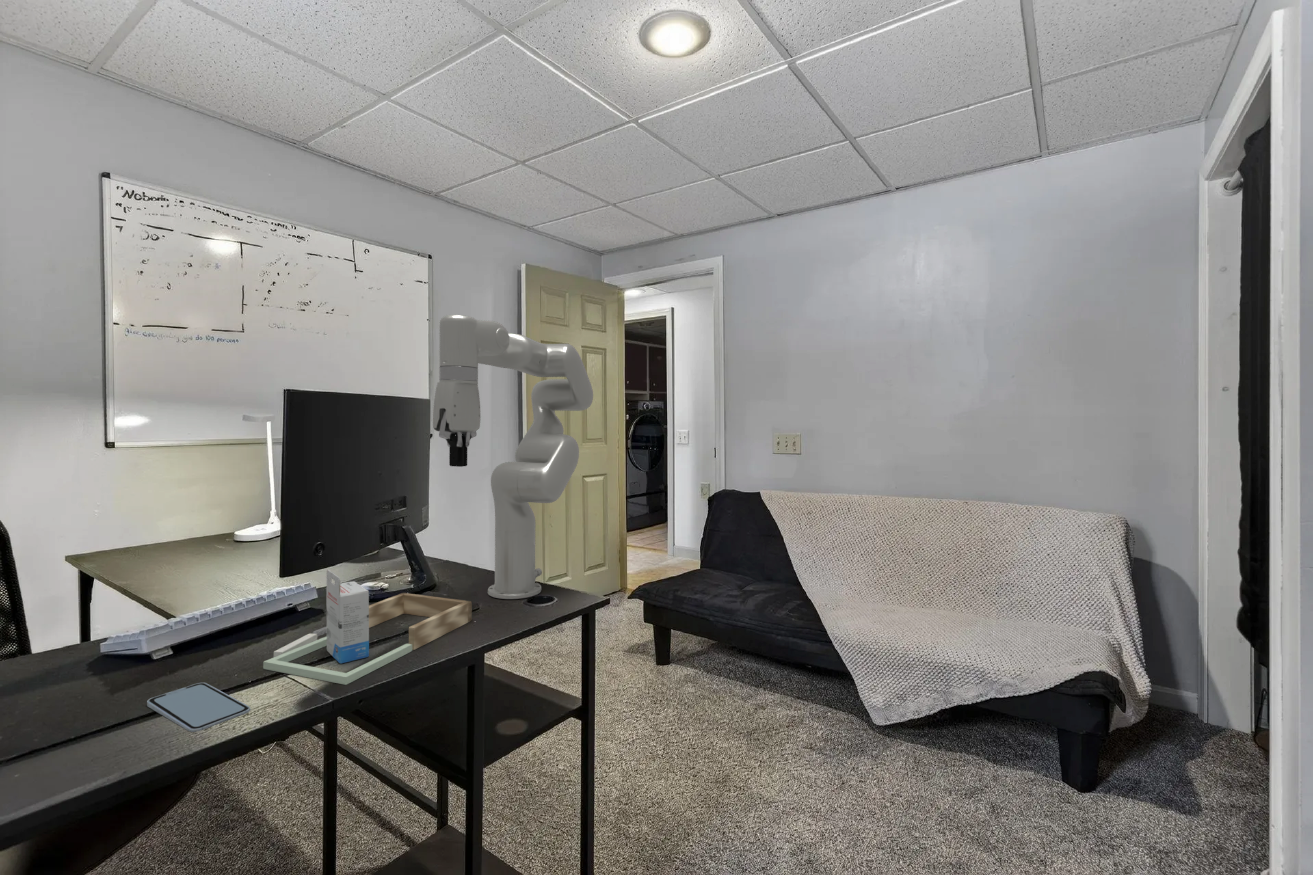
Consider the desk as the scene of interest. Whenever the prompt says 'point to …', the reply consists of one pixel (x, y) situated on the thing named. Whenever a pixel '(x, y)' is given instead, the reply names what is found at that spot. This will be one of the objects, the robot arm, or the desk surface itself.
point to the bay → (284, 666)
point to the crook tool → (320, 631)
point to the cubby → (440, 611)
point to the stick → (296, 644)
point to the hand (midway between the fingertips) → (458, 465)
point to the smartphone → (197, 706)
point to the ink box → (347, 619)
